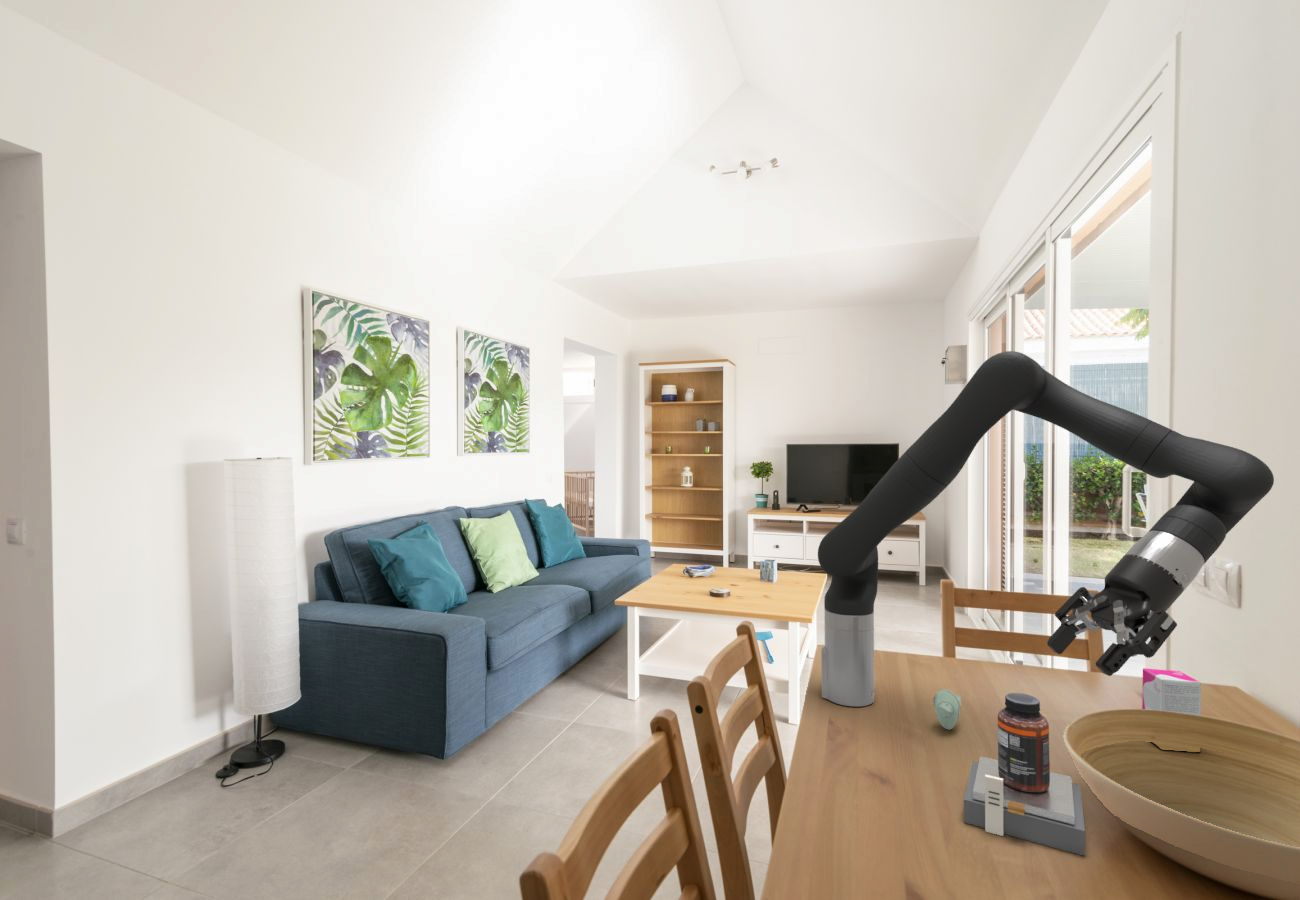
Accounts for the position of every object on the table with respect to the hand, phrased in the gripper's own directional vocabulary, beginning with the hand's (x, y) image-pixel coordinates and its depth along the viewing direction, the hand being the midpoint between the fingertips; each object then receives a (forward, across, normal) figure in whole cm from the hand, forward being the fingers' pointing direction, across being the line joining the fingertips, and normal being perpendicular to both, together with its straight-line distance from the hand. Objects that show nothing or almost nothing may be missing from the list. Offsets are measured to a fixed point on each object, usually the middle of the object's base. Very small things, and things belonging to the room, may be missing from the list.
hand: (1076, 659), depth 85 cm
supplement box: (-7, -16, +36) cm, 40 cm away
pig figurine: (+17, -26, +12) cm, 33 cm away
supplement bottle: (+17, 0, +6) cm, 18 cm away
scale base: (+20, 0, +9) cm, 22 cm away
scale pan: (+18, +1, +6) cm, 19 cm away
